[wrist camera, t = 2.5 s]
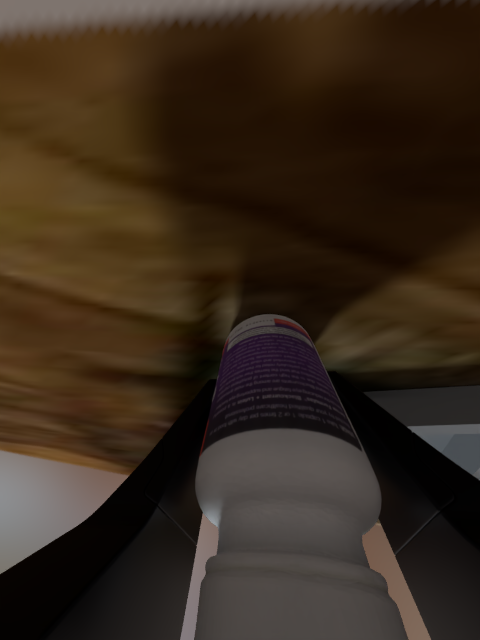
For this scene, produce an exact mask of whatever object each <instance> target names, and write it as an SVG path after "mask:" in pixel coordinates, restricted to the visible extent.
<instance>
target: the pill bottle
mask: <svg viewBox="0 0 480 640" xmlns="http://www.w3.org/2000/svg"><path fill="white" fill-rule="evenodd" d="M195 491H196V497H197V500H198V503H199V506H200V508H201V510H202V512H203V513H204V515H205V516H206V517H207V518H208V519H209V521H210V522H212V523H213V524H214V525H215V526H217V527H218V530H219V541H218V549H217V555H216V556H213V557H210V558H209V559H208V560H207V562H206V567H205V568H206V575H205V577H204V579H203V580H202V582H201V588H200V597H199V606H198V615H197V623H196V630H195V638H194V640H408V637H407V634H406V631H405V628H404V625H403V622H402V618H401V615H400V612H399V609H398V607H397V604H396V603H395V602H394V601H393V600H392V598H391V597H390V596H389V594H388V586H387V582H386V580H385V578H384V577H383V576H382V575H381V574H380V573H378V572H376V571H374V570H372V569H370V566H369V563H368V560H367V557H366V554H365V551H364V548H363V544H362V535H363V534H365V533H367V532H368V531H369V530H370V529H371V528H372V527H373V526H374V525H375V523H376V522H377V520H378V517H379V515H380V511H381V502H382V499H381V491H380V487H379V483H378V480H377V478H376V475H375V473H374V471H373V468H372V466H371V464H370V462H369V460H368V457H367V455H366V453H365V451H364V449H363V447H362V445H361V443H360V441H359V438H358V436H357V434H356V432H355V430H354V428H353V426H352V424H351V422H350V420H349V418H348V416H347V414H346V411H345V409H344V407H343V405H342V403H341V401H340V399H339V397H338V395H337V393H336V391H335V388H334V386H333V384H332V382H331V380H330V378H329V376H328V374H327V371H326V369H325V367H324V365H323V363H322V361H321V359H320V357H319V355H318V352H317V350H316V348H315V346H314V344H313V342H312V340H311V338H310V336H309V335H308V333H307V332H306V331H305V329H304V328H303V327H302V326H301V325H300V324H298V323H297V322H295V321H294V320H292V319H290V318H287V317H284V316H281V315H274V314H264V315H258V316H254V317H251V318H249V319H246V320H245V321H243V322H241V323H240V324H238V325H237V326H236V327H235V328H234V329H233V330H232V331H231V333H230V334H229V336H228V338H227V340H226V343H225V347H224V350H223V355H222V359H221V364H220V369H219V373H218V378H217V382H216V386H215V391H214V395H213V399H212V404H211V409H210V413H209V418H208V422H207V426H206V431H205V435H204V439H203V444H202V448H201V452H200V456H199V461H198V467H197V472H196V478H195Z"/></svg>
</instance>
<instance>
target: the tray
mask: <svg viewBox="0 0 480 640" xmlns="http://www.w3.org/2000/svg"><path fill="white" fill-rule="evenodd" d="M363 393H364V394H365V395H367V396H368V397H369V398H371V399H372V400H373V401H374V402H376V403H377V404H378V405H380V406H381V407H382V408H383V409H385V410H386V411H387V412H389V413H390V414H391V415H392V416H394V417H395V418H396V419H398V420H399V421H400V422H401V423H403V424H404V425H405V426H407V427H408V428H409V429H410V430H412V432H414V433H416V434H417V435H418V436H420V437H421V438H422V439H423V440H425V441H426V442H427V443H429V444H430V445H431V446H433V447H434V448H435V449H437V450H438V451H439V452H441V453H442V454H443V455H445V456H446V457H447V458H449V459H450V460H452V461H453V462H454V463H456V464H457V465H459V466H460V467H462V468H463V469H464V470H466V471H467V472H469V473H470V474H472V475H473V476H474V477H476V478H477V479H479V480H480V385H477V386H459V387H442V388H425V389H407V390H390V391H372V392H363ZM378 519H379V518H378Z"/></svg>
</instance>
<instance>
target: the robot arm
mask: <svg viewBox="0 0 480 640" xmlns="http://www.w3.org/2000/svg"><path fill="white" fill-rule="evenodd" d="M327 374H328V376H329V378H330V380H331V382H332V384H333V386H334V388H335V391H336V393H337V395H338V397H339V399H340V401H341V403H342V405H343V407H344V409H345V411H346V414H347V416H348V418H349V420H350V422H351V424H352V426H353V428H354V430H355V432H356V434H357V436H358V438H359V441H360V443H361V445H362V447H363V449H364V451H365V453H366V455H367V457H368V460H369V462H370V464H371V466H372V468H373V471H374V473H375V475H376V478H377V480H378V483H379V487H380V491H381V499H382V502H381V511H380V515H379V517H378V518H379V520H380V523H381V525H382V527H383V530H384V532H385V534H386V536H387V539H388V541H389V543H390V545H391V548H392V550H393V552H394V554H395V555H396V556H395V557H396V560H397V562H398V564H399V567H400V569H401V571H402V573H403V575H404V578H405V580H406V583H407V585H408V587H409V589H410V592H411V594H412V596H413V599H414V601H415V603H416V605H417V608H418V610H419V612H420V615H421V617H422V619H423V622H424V624H425V626H426V628H427V630H428V633H429V635H430V637H431V640H480V480H479V479H477V478H476V477H474V476H473V475H472V474H470V473H469V472H467V471H466V470H464V469H463V468H462V467H460V466H459V465H457V464H456V463H454V462H453V461H452V460H450V459H449V458H447V457H446V456H445V455H443V454H442V453H441V452H439V451H438V450H437V449H435V448H434V447H433V446H431V445H430V444H429V443H427V442H426V441H425V440H423V439H422V438H421V437H420V436H418V435H417V434H416V433H414V432H412V430H410V429H409V428H408V427H407V426H405V425H404V424H403V423H401V422H400V421H399V420H398V419H396V418H395V417H394V416H392V415H391V414H390V413H389V412H387V411H386V410H385V409H383V408H382V407H381V406H380V405H378V404H377V403H376V402H374V401H373V400H372V399H371V398H369V397H368V396H367V395H365V394H364V393H363V392H362V391H360V390H359V389H358V388H357V387H355V386H354V385H353V384H351V383H350V382H349V381H348V380H346V379H345V378H344V377H342V376H341V375H340V374H339V373H337V372H336V371H327ZM216 382H217V379H210V380H209V381H208V382H207V383H206V384H205V386H204V387H203V388H202V389H201V391H200V392H199V393H198V394H197V396H196V397H195V398H194V399H193V400H192V402H191V403H190V404H189V405H188V407H187V408H186V409H185V410H184V412H183V413H182V414H181V415H180V417H179V418H178V419H177V420H176V421H175V423H174V424H173V425H172V426H171V428H170V429H169V430H168V431H167V433H166V434H165V435H164V436H163V438H162V439H161V440H160V441H159V442H158V444H157V445H156V446H155V447H154V449H153V450H152V451H151V452H150V453H149V454H148V456H147V457H146V458H145V459H144V460H143V461H142V462H141V464H140V465H139V466H138V467H137V468H136V469H135V470H134V471H133V472H132V473H131V475H130V476H129V477H128V478H127V479H126V480H125V481H124V482H123V483H122V484H121V485H120V486H119V487H118V488H117V490H116V491H115V492H114V493H113V494H112V495H111V496H110V497H109V498H108V499H107V500H106V501H105V502H104V503H103V504H102V505H101V506H100V508H98V509H97V510H96V511H95V512H94V513H93V514H92V515H91V516H90V517H88V518H87V519H86V520H85V521H84V522H82V523H81V524H79V525H78V526H76V527H75V528H73V529H72V530H70V531H68V532H67V533H65V534H64V535H62V536H60V537H59V538H57V539H56V540H54V541H52V542H51V543H49V544H48V545H46V546H45V547H43V548H41V549H40V550H38V551H37V552H35V553H33V554H32V555H30V556H29V557H27V558H25V559H24V560H22V561H21V562H19V563H17V564H16V565H14V566H13V567H11V568H9V569H8V570H6V571H5V572H3V573H1V574H0V640H180V637H181V632H182V626H183V621H184V615H185V609H186V604H187V598H188V593H189V587H190V581H191V576H192V570H193V564H194V559H195V553H196V548H197V546H196V545H197V542H198V536H199V531H200V525H201V519H202V514H203V512H202V510H201V508H200V506H199V503H198V500H197V497H196V491H195V478H196V472H197V467H198V461H199V456H200V452H201V448H202V444H203V439H204V435H205V431H206V426H207V422H208V418H209V413H210V409H211V404H212V399H213V395H214V391H215V386H216Z"/></svg>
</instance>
